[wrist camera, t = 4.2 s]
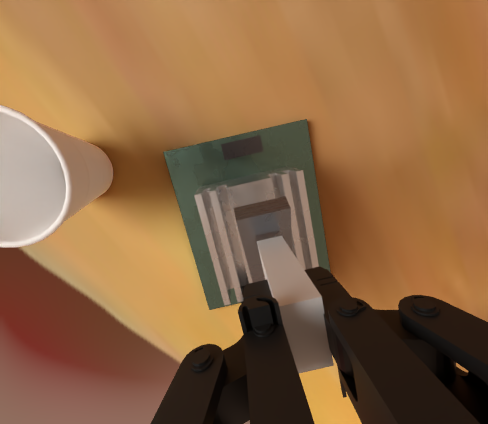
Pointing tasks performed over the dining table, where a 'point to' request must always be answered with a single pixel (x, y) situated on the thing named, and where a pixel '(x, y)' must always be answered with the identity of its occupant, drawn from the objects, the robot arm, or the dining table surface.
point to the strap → (262, 229)
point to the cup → (44, 178)
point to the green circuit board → (245, 201)
